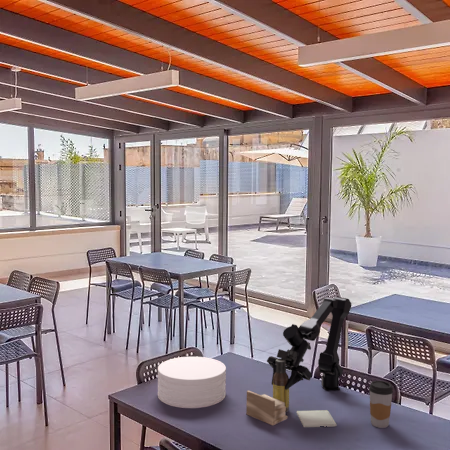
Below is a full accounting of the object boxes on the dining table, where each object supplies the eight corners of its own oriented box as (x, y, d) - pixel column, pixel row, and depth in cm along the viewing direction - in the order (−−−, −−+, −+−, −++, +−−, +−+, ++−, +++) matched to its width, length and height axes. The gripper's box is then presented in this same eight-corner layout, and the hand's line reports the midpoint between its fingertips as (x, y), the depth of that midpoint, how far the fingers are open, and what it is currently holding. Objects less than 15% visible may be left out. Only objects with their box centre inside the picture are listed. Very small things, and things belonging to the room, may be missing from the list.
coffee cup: (392, 421, 195) (393, 381, 194) (391, 431, 187) (392, 390, 186) (368, 417, 198) (370, 378, 197) (367, 427, 190) (368, 386, 189)
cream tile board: (327, 412, 202) (327, 410, 202) (336, 426, 190) (336, 424, 190) (296, 413, 201) (296, 410, 201) (303, 427, 189) (303, 425, 189)
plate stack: (185, 414, 199) (185, 385, 198) (144, 392, 220) (144, 365, 219) (239, 396, 217) (239, 369, 216) (197, 377, 238) (197, 352, 237)
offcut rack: (261, 407, 206) (262, 385, 205) (287, 418, 196) (288, 394, 196) (246, 414, 199) (246, 391, 199) (272, 425, 190) (273, 401, 190)
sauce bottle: (284, 405, 208) (285, 356, 206) (291, 412, 202) (293, 361, 200) (269, 407, 205) (270, 358, 204) (276, 414, 200) (277, 363, 198)
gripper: (270, 336, 211) (251, 369, 204) (308, 346, 198) (289, 382, 191) (282, 351, 217) (264, 384, 210) (319, 362, 204) (301, 397, 197)
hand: (278, 386), depth 202 cm, fingers closed on sauce bottle, 6 cm apart
